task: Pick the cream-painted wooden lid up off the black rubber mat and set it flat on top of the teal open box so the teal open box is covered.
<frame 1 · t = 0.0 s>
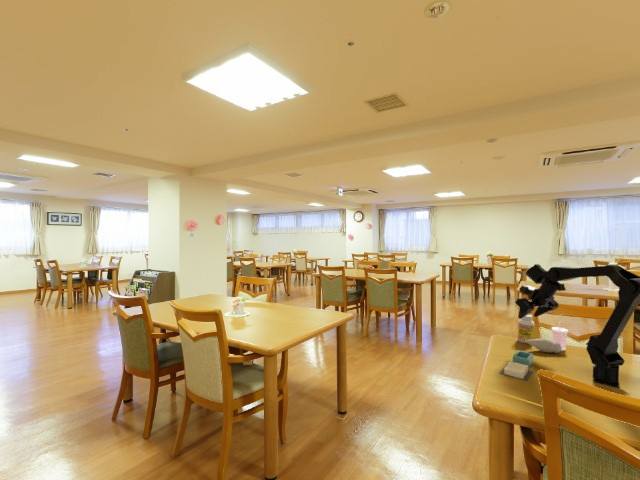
hand: (527, 317, 145), 15 cm above the table, fingers open, 9 cm apart
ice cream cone: (541, 352, 144), on the table
teal open box: (522, 364, 130), on the table
beverage cup: (559, 348, 148), on the table
mat: (516, 373, 122), on the table
supplement bottle: (525, 342, 157), on the table
lid: (516, 372, 122), resting on mat
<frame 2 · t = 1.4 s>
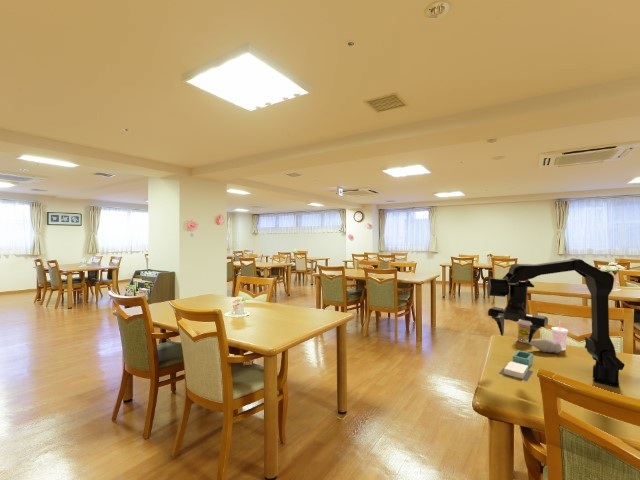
hand: (515, 338, 123), 13 cm above the table, fingers open, 9 cm apart
nothing on the table moved.
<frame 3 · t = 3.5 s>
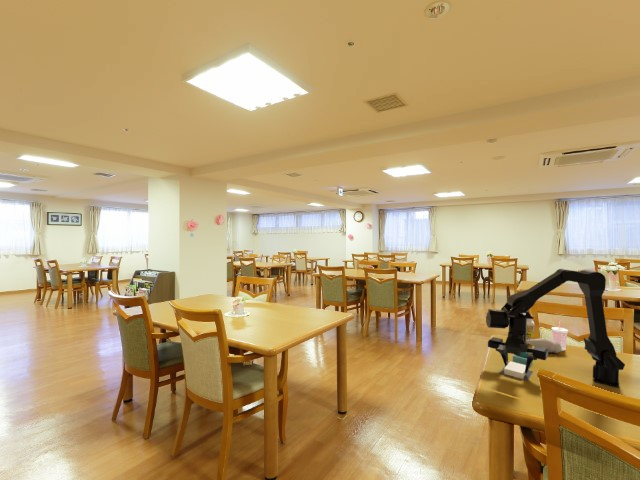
hand: (516, 370, 122), 1 cm above the table, fingers closed on lid, 6 cm apart
lid: (516, 372, 122), point 1 cm above the table, touching gripper, mat
everything else where it was.
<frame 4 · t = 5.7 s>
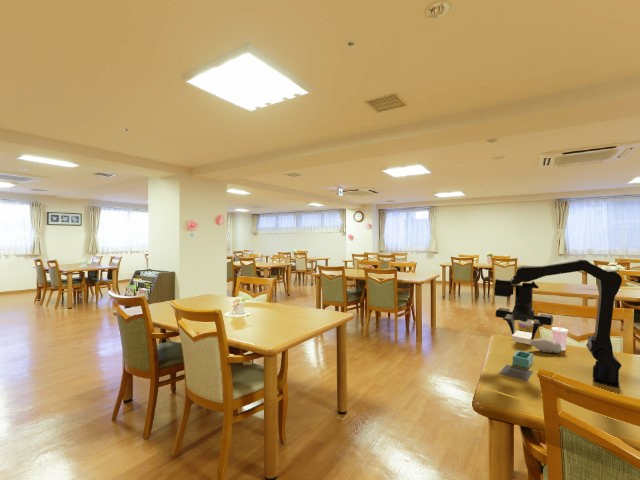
hand: (522, 337, 129), 11 cm above the table, fingers closed on lid, 6 cm apart
lid: (522, 339, 129), point 11 cm above the table, touching gripper
everything else where it was.
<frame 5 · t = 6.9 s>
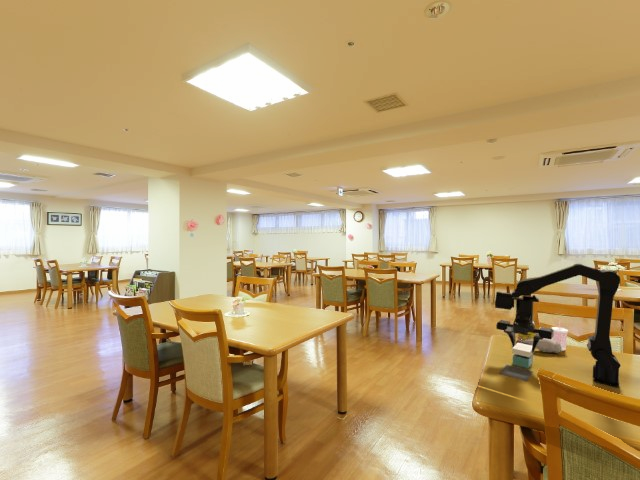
hand: (523, 350, 130), 6 cm above the table, fingers closed on lid, 6 cm apart
lid: (523, 352, 130), point 5 cm above the table, touching gripper
everything else where it was.
when the fingers open (6 cm above the table, at t = 7.8 s): lid stays where it is, resting on teal open box.
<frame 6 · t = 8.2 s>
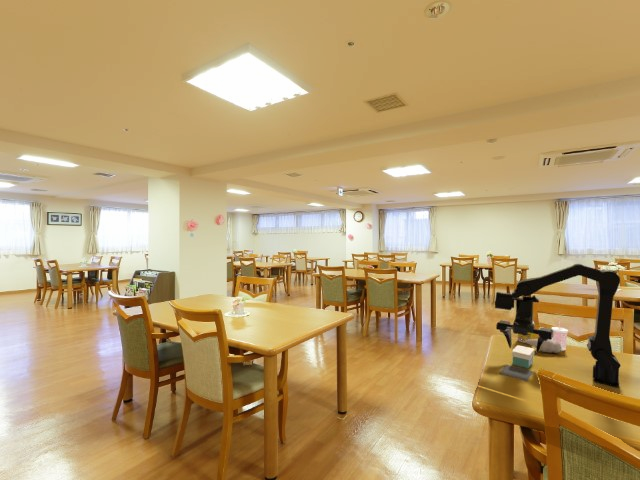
hand: (523, 350, 130), 6 cm above the table, fingers open, 9 cm apart
lid: (523, 354, 130), point 4 cm above the table, touching teal open box
everything else where it was.
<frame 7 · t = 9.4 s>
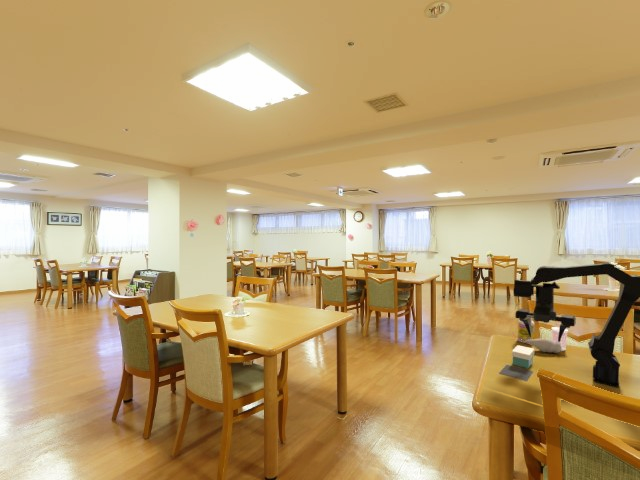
hand: (544, 339, 126), 12 cm above the table, fingers open, 9 cm apart
nothing on the table moved.
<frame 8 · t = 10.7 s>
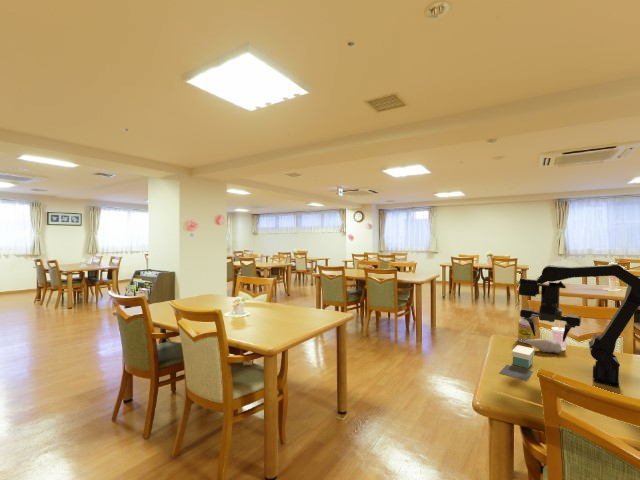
hand: (548, 338, 126), 12 cm above the table, fingers open, 9 cm apart
nothing on the table moved.
at the end: lid 0.0 cm off-centre on the teal open box, point 4.0 cm above the teal open box's base; lid tilted 0°; the gripper is holding nothing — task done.
